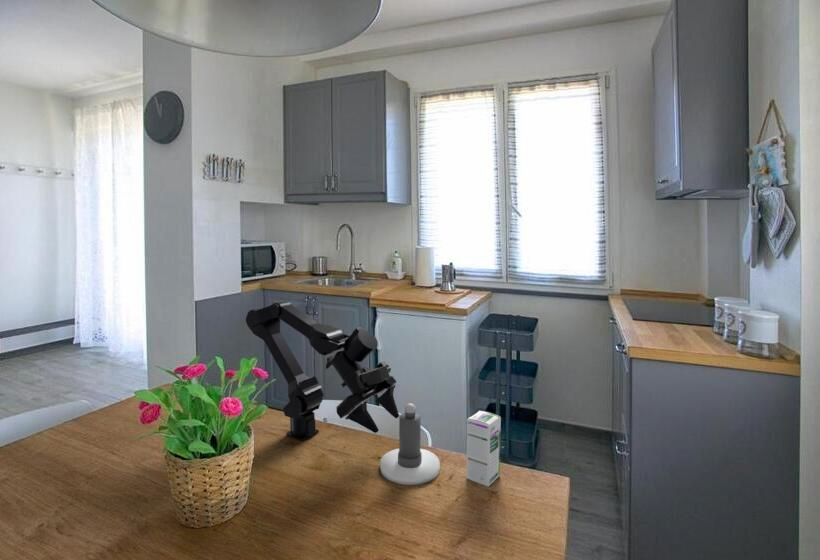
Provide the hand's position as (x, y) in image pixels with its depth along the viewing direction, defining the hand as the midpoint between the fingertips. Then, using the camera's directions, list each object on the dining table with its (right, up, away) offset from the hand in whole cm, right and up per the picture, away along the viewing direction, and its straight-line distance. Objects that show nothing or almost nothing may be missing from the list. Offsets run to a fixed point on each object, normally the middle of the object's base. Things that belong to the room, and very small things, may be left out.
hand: (387, 424), depth 105 cm
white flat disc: (+5, -10, -2) cm, 11 cm away
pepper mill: (+5, -8, -2) cm, 10 cm away
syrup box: (+22, -10, -6) cm, 25 cm away
